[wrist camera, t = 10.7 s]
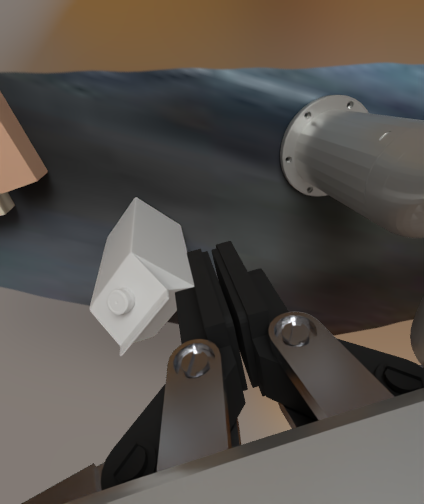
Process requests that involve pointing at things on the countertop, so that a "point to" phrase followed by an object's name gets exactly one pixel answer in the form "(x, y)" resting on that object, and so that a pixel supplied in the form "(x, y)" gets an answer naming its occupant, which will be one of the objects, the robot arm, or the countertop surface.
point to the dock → (5, 203)
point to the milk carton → (140, 275)
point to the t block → (16, 153)
